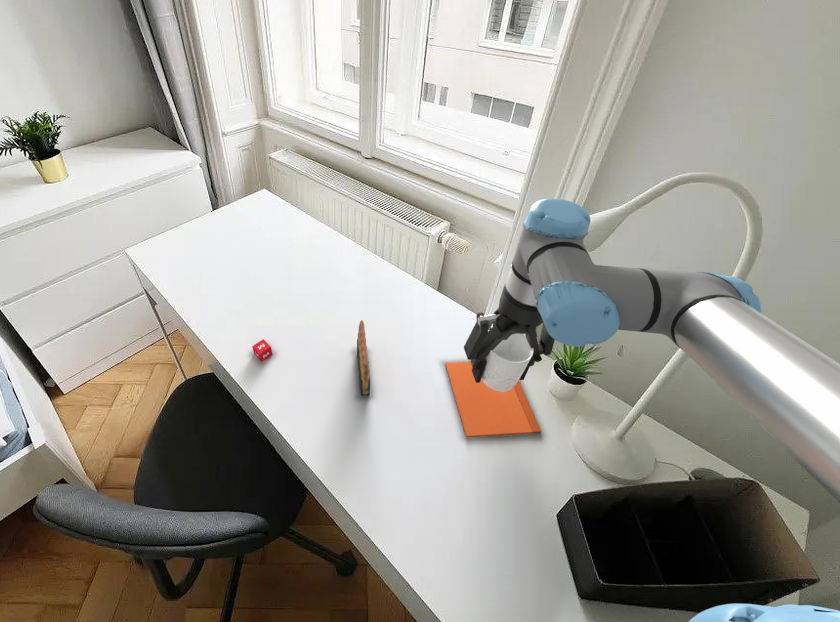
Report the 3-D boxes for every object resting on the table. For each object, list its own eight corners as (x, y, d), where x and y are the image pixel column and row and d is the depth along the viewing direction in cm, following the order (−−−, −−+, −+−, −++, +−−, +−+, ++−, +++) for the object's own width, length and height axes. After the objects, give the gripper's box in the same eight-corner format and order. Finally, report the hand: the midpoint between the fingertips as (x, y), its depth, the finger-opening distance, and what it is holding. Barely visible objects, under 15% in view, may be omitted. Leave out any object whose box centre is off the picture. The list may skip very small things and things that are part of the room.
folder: (540, 433, 76) (541, 431, 76) (466, 437, 76) (466, 435, 76) (508, 360, 89) (509, 358, 88) (445, 364, 88) (445, 362, 88)
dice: (261, 362, 90) (259, 354, 88) (254, 354, 92) (252, 346, 90) (272, 355, 91) (271, 347, 89) (265, 347, 93) (263, 338, 91)
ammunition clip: (356, 352, 91) (356, 317, 84) (365, 352, 91) (365, 316, 84) (360, 396, 83) (361, 361, 75) (369, 395, 83) (371, 360, 75)
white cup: (491, 352, 82) (502, 319, 76) (527, 378, 77) (542, 345, 71) (467, 374, 78) (477, 342, 72) (504, 403, 73) (517, 371, 67)
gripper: (582, 271, 66) (541, 355, 81) (457, 277, 66) (439, 361, 80) (608, 305, 60) (559, 389, 75) (471, 312, 60) (449, 396, 74)
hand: (497, 375), depth 78 cm, fingers closed on white cup, 8 cm apart
